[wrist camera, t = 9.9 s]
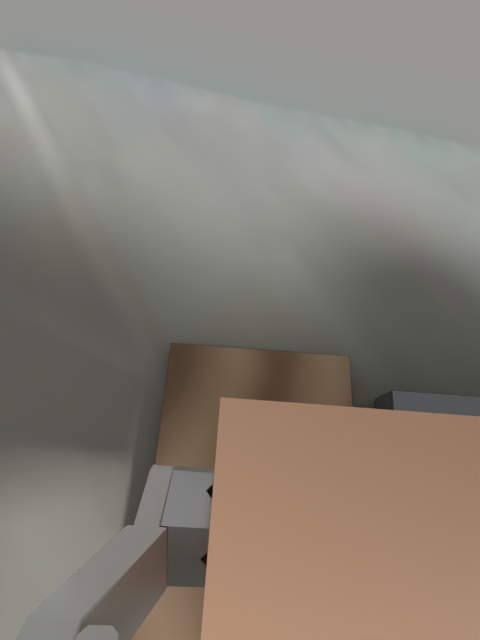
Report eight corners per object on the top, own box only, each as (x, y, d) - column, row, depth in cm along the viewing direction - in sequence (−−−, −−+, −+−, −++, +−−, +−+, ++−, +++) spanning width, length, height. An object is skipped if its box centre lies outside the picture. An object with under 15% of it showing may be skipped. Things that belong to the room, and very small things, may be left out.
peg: (318, 450, 15) (496, 417, 5) (319, 569, 13) (572, 811, 4) (217, 442, 14) (220, 397, 5) (207, 562, 13) (188, 797, 4)
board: (344, 360, 24) (349, 356, 23) (359, 682, 18) (367, 694, 17) (173, 348, 23) (171, 343, 23) (130, 670, 17) (125, 681, 17)
